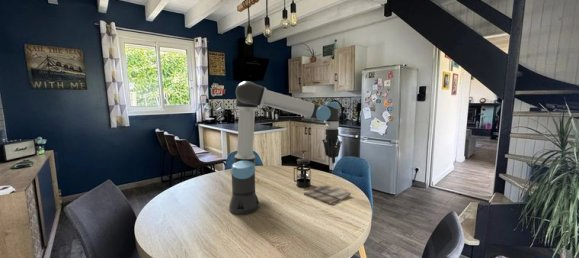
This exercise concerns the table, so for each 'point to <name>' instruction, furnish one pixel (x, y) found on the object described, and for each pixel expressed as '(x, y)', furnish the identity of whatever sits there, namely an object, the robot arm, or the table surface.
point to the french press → (303, 172)
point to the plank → (333, 191)
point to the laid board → (322, 197)
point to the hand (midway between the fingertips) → (331, 168)
